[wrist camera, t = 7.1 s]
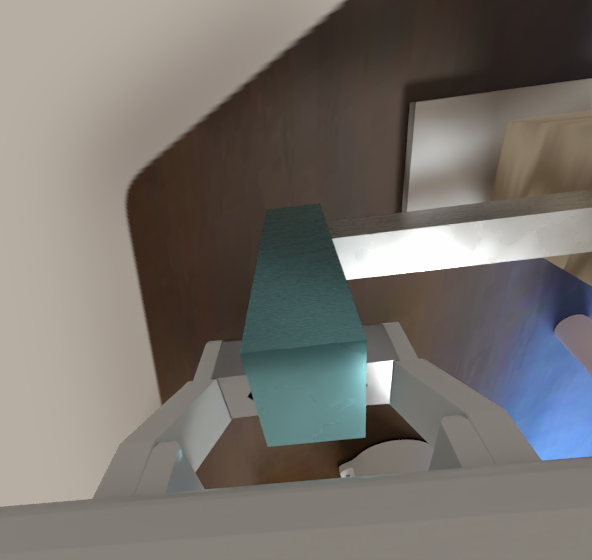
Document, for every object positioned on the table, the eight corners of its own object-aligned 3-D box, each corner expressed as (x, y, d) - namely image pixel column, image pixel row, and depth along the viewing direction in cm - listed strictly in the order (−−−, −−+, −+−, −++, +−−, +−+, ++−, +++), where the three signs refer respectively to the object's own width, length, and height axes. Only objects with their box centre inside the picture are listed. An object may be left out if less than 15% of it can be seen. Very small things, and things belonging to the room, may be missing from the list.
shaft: (722, 219, 17) (1242, 354, 8) (277, 271, 18) (267, 446, 9) (770, 147, 15) (1554, 213, 6) (266, 210, 16) (239, 353, 7)
